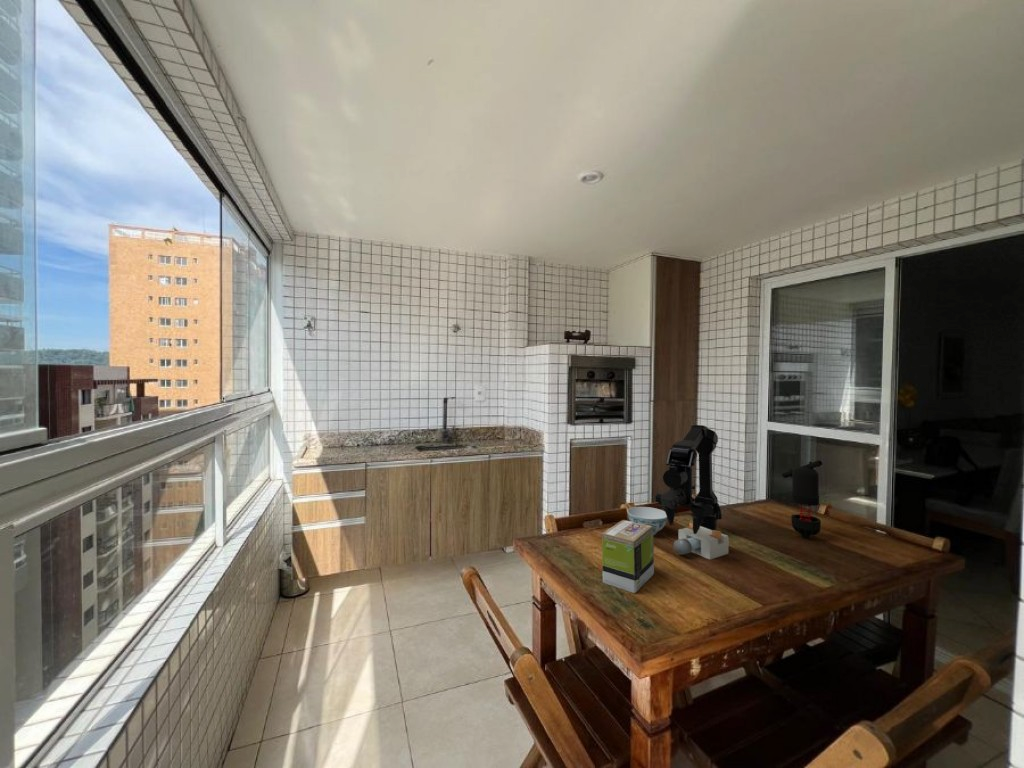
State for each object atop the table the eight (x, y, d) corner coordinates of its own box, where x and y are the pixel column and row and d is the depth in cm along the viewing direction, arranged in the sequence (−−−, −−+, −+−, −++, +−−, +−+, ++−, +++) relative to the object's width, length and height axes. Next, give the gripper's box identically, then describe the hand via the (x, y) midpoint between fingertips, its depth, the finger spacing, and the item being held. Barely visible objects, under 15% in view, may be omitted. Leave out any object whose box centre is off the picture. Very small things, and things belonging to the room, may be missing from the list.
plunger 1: (692, 528, 144) (692, 521, 144) (699, 531, 141) (699, 524, 141) (687, 530, 142) (687, 523, 142) (694, 532, 140) (694, 525, 140)
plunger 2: (715, 536, 136) (715, 529, 136) (723, 539, 133) (723, 532, 133) (710, 538, 134) (710, 530, 135) (717, 541, 132) (717, 533, 132)
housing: (696, 541, 145) (696, 524, 145) (728, 553, 134) (728, 535, 134) (678, 546, 140) (678, 529, 140) (709, 559, 130) (709, 541, 130)
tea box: (623, 565, 125) (623, 518, 125) (654, 574, 119) (655, 525, 119) (601, 583, 114) (601, 531, 114) (635, 595, 107) (635, 540, 107)
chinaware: (661, 543, 143) (661, 521, 143) (621, 533, 152) (621, 513, 152) (672, 531, 155) (673, 511, 155) (635, 523, 164) (635, 504, 164)
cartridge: (704, 543, 141) (704, 530, 141) (716, 547, 137) (716, 534, 137) (673, 551, 134) (673, 538, 134) (685, 556, 129) (685, 542, 130)
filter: (829, 541, 146) (829, 459, 146) (815, 545, 142) (815, 461, 142) (789, 529, 158) (789, 454, 158) (776, 533, 154) (775, 455, 154)
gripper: (643, 479, 137) (643, 524, 137) (691, 491, 120) (691, 543, 120) (666, 475, 142) (666, 519, 142) (714, 487, 126) (714, 536, 126)
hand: (682, 529), depth 132 cm, fingers open, 9 cm apart
